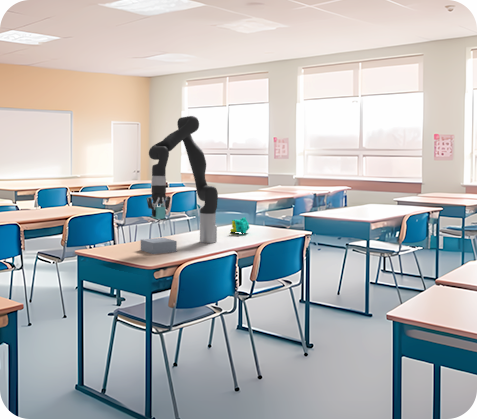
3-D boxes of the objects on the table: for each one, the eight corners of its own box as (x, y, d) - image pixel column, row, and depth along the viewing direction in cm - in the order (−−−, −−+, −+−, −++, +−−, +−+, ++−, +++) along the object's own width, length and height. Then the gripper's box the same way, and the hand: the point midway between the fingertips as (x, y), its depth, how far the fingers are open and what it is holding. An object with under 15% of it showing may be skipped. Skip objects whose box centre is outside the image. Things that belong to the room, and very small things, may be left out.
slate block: (163, 248, 295) (163, 237, 295) (176, 252, 284) (176, 241, 283) (140, 250, 287) (140, 239, 286) (152, 254, 276) (152, 243, 275)
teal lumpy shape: (223, 222, 358) (237, 212, 364) (231, 238, 360) (245, 228, 366) (234, 220, 345) (249, 210, 351) (242, 236, 347) (257, 226, 353)
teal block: (159, 217, 287) (160, 206, 287) (165, 218, 284) (165, 207, 283) (152, 218, 284) (152, 206, 283) (157, 218, 280) (157, 207, 280)
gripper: (166, 183, 290) (165, 215, 291) (143, 184, 280) (143, 216, 282) (174, 184, 284) (173, 216, 286) (151, 185, 274) (151, 218, 276)
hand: (158, 216), depth 284 cm, fingers closed on teal block, 5 cm apart
